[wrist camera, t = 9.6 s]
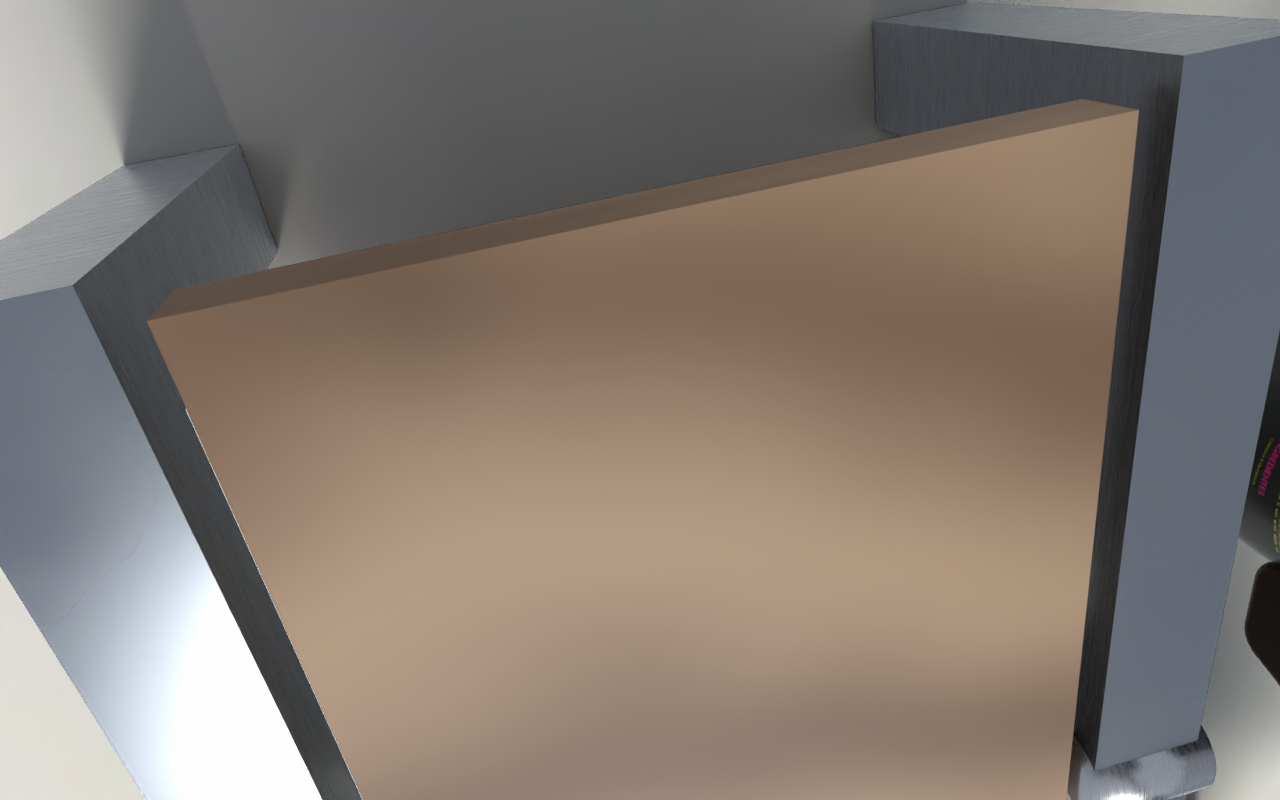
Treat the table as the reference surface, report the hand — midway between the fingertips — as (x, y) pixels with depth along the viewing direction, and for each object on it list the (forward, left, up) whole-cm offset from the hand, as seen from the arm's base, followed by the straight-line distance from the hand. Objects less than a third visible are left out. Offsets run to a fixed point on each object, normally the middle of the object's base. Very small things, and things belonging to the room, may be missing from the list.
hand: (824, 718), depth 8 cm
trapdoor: (-5, 0, -9) cm, 10 cm away
